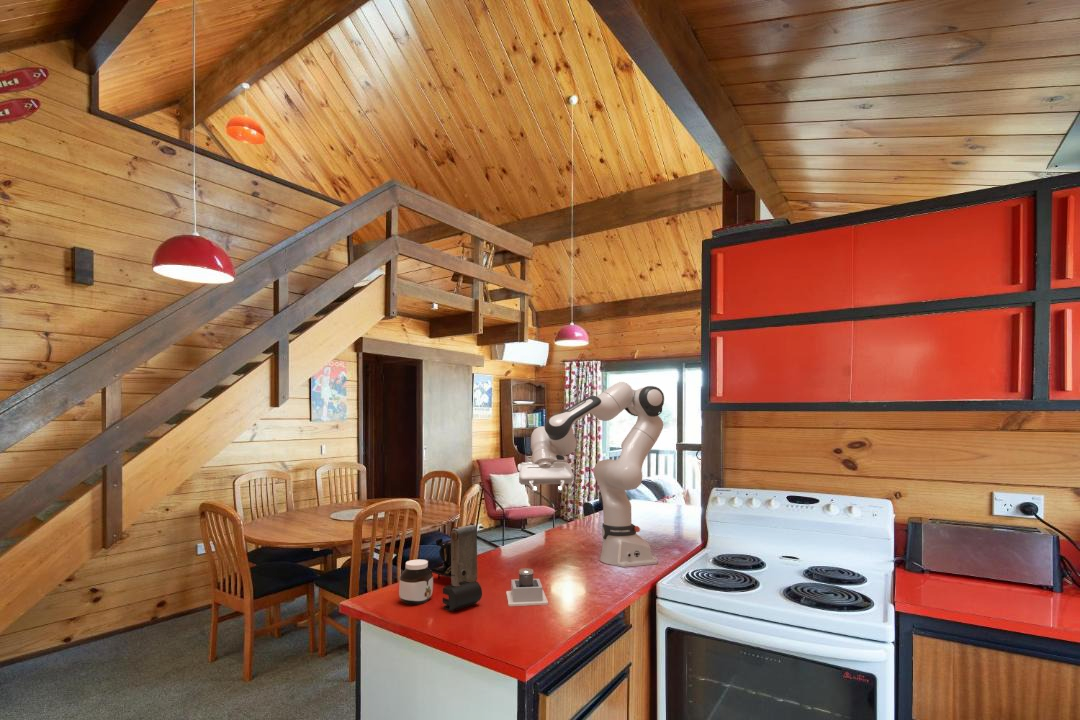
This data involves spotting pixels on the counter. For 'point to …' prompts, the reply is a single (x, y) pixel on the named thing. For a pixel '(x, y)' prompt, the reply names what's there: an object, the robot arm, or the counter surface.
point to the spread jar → (416, 582)
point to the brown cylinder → (526, 577)
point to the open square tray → (526, 594)
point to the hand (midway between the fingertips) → (547, 492)
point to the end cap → (461, 595)
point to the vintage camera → (459, 555)
